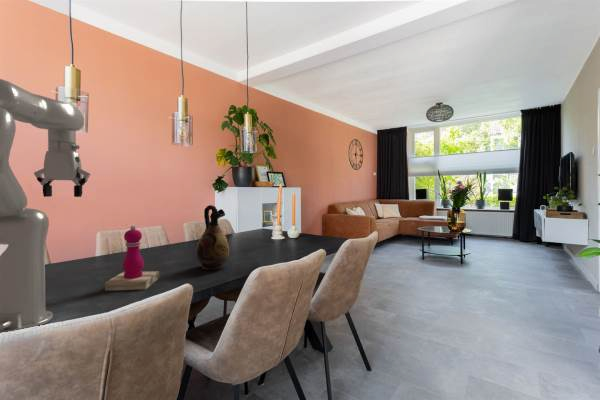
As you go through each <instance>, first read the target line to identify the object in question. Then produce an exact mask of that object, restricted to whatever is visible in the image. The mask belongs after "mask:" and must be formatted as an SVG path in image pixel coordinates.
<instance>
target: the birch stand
mask: <svg viewBox="0 0 600 400" xmlns="http://www.w3.org/2000/svg"><path fill="white" fill-rule="evenodd" d="M125 272H126V271H122V272H121V273H119V274H117V275H115V276H114V277H112V278H111V279H109V280H107V281H105V282H104V291H106V292H107V291H129V290H130V291H133V290H134V291H137V290H139V291H140V290H147V289H148V288H149V287H150V286H151V285H152V284H154V283H155V282H156V281H157V280H158V279H160V271H159V270H151V271H150V270H148V271H147V270H144V271H143V270H142V276H141V277H138V278H133V279H126V278H124V273H125Z"/></svg>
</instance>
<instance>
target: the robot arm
mask: <svg viewBox="0 0 600 400" xmlns="http://www.w3.org/2000/svg"><path fill="white" fill-rule="evenodd" d="M84 119H85V118H84V115H83V113H82V112H81V110H80V109H78V107H76V106H74V105H72V104H70V103H68V102H65V101H61V100H57V99H54V98H51V97H47V96H43V95H41V94H35V93H33V92H30V91H28V90H26V89H24V88H22V87H20V86H18V85H16V84H14V83H12V82H10V81H8V80H5V79H2V78H0V245H5V246H6V245H8V246H7V248H5V250H4V251H3V252H2V253H1V254H0V333H1V332H8V331H14V330H19V329H24V328H29V327H33V326H38V325H41V326H43V325H45V324H47V323H49V322H50V321H51V320H52V319H53V316H54V313H53V312H52V311H50V310H46V266H45V265H46V262H45V261H46V260H45V257H46V255H45V253H46V244H47V243H46V242H47V236H48V231H49V227H50V220H49V217H48V216H47V214H46V213H45V212H44V211H42V210H41V209H40V210H39V209H35V208H30V207H28V208H27V206H28V198H27V195H26V192H25V190H24V189H23V187H22V185H21V184H20V182H19V181H18V178H17V177H16V176H15V173H14V172H13V170H12V167H11V166H10V161H9V160H10V156H11V155H10V154H11V149H12V146H13V143H14V139H15V135H16V129H17V128H16V127H17V126H16V122H15V121H17V122H20V123H25V124H30V125H31V126H33V127H34V128H37V129H42V130H47V150H46V151H45V154H44V155H45V156H44V160H43V168H41V169H39V170H36V171H35V172H33V174H34V176H35V178H36V181H38V182H39V183H40V185H41V186H42V195H43V197H44V198H49V197H50V198H51V197H53V185H51V184H52V182H54V181H72V182H73V184H75V185H73V196H74V197H75V198H81V197H82V195H83V186H84V185H85V183H87V182H88V181H89V178H90V176H91V173H90V172H88V171H85V170H84V169H83V168H82V167H83V166H82V163H81V162H82V161H81V158H80V157H81V156H80V153H79V152H77V150H79V149H80V147H81V146H80V145H78V144H76V143H77V137H76V136H77V135H76V134H77V133H76V132H77V131H80V130H82V128H83V127H84V124H85V120H84Z"/></svg>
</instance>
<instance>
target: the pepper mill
mask: <svg viewBox="0 0 600 400" xmlns="http://www.w3.org/2000/svg"><path fill="white" fill-rule="evenodd" d="M136 228H137V227H136V226H135V225H131V226H130V229H129V230H127V231H126V232H125V233H124V235H123V237H124V240H125V247H126V255H125V257H124V260H123V263H122V270H124V272H125V273H124V278H126V279H133V278H138V277H141V276H142V271H143V270H142V269H143V268H144V267H145V266H144V265H145V262H144V260H143V257H142V255H141V253H140V246H141V239H142V237H143V234H142V232H141V231H140V230H138V229H136Z"/></svg>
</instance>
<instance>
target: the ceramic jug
mask: <svg viewBox="0 0 600 400" xmlns="http://www.w3.org/2000/svg"><path fill="white" fill-rule="evenodd" d="M210 211H211V212H210ZM203 212H204V213H203V214H204V216H203V217H204V224H205V230H204V231H203V233H202V235H201V236H200V238H199V240H198V242H197V245H196V249H195V250H196V251H195V255H196V259H197V260H198V262H199V263H200V264H201V268H202V269H203V270H207V271H213V270H214V271H216V270H220V269H222V268H223V266H224V264H225V262H226V261H228V258H229V255H230V246H229V241H228V238H227V236H226V235H225V233H224V231H223V230H222V228H221V227H220V225H219V222H218V220H219V219H220V218H223V217H226V212H225V211H224V209H222V208H221V209H217V207H216V206H215V205H212V204H209V205H207V206H206V207H205V208H204V211H203ZM210 213H211V214H210Z"/></svg>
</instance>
